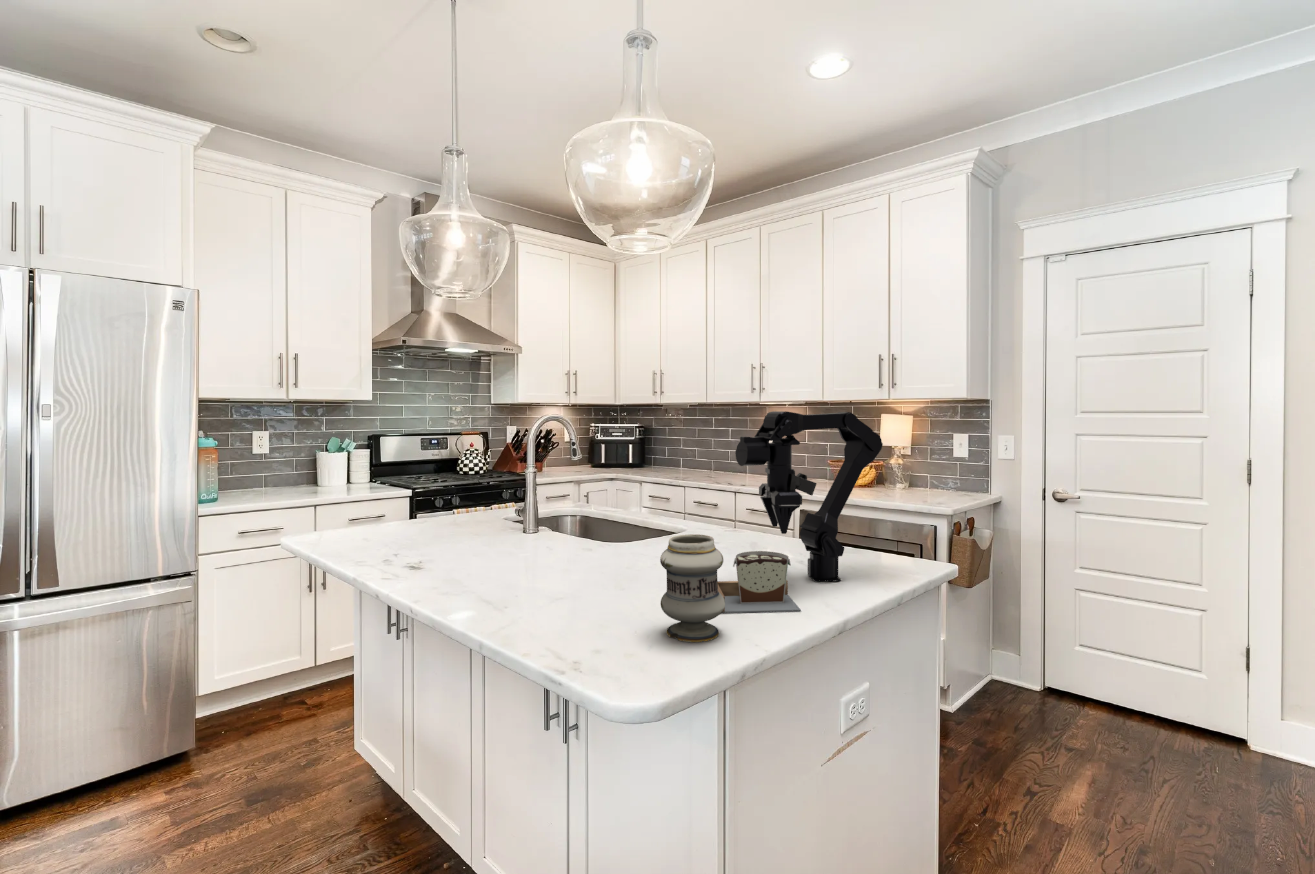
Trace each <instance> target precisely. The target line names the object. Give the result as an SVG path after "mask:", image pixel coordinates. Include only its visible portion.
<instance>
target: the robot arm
mask: <svg viewBox="0 0 1315 874" xmlns="http://www.w3.org/2000/svg"><path fill="white" fill-rule="evenodd" d="M828 429H829V430H830V429H837V430H838V433H839V437H840V438H841V439H842V441H844V443H845V446H844V449H843V453H844V454H843V456H844V460H843V462H842V465H841V466H840V468H839V471H838V473H837V475H836V477H835V479H834V480H833V482H832V484H831V486H830V488H829V490H828V492H827V494H826V496H825V498H824V499H823V501H822V504H821V506H820V507H819V509H818V510H817V511H816V512H815V513H811V512H807V514H806V515H805V516H804V517H805V518H804V520H803V522H802V524H801V525H799V528H801V529H800V532H799V536H800V539H801V542H802V544H803V545H804V548H805V551H807V552H809V558H807V576H808V577H809V578H810V579H811V580H812V581H814V582H815V583H817V582H840V581H842V579H841V578H840V577H839V557H843V555H844V553H845V552H844V551H845V547H844V545H842V543H841V542H840V541H839V540H838V539H837V536H838V532H839V523H838V522H839V518H840V516H841V513H842V511H843V509H845V508H844V507H845V505H846V504H847V502H848V500H849V497H850V495H851V494H852V492H853V490H854V489H855V485H856V484H857V482H858V480H859V479H860V476H861V474H862V472H863V470H864V469H865V468H866V467H867V466H869V465H870V464H871V463H873V462H874V460H875V459H876V458H877V457H878V455H879V454H880V452H882V449H883V445H884V443H883V441H882V437H881V436H880V435H879V433H876V432H875V431H873V429H872V428H871V427H870V426H868V425H867V424H865V423H864V422H863V421H862V420H860V418H858V417H857V416H856V415H855V414H854V413H853V412H850V411H838V412H834V413H833V412H832V413H815V414H813V413H812V414H811V413H810V414H803V413H799V412H792V411H783V410H781V411H776V410H775V411H768V413H766V414H765V416H764V419H763V421H762V424H761V426H760V427H759V429H758V430H757V432H756V433H755V435H754V436H740V438H739V442H738V444H737V445H736V449H735V452H734V453H735V459H736V462H737V464H738V465H739V466H740V467H749V466H750V467H751V466H752V467H753V466H764V465H766V467H765V468H764V473H766V483H761V485H760V486H758V495H759V496H760V500H761V502H762V504H763V506H764V508H765V511H766V513H767V516H768V519H769V521H770V523H771V525H772V527H779V531H780V533H781V534H782V535H783V534H784V535H785V534H787V532H788V529H789V526H790V522H791V521H790V520H791V518H792V515H793V512H795V511H796V510H797V509H799V508H800V507H801V505H803V495H801V494H800V493H799V492H798V491H800V492H802V493H805V494H807V495H809V496H813V494H814V492H815V490H816V487H817V485H818V484H817V482H814V481H812V480H809V479H808V475H806V474H804V473H801V472H798V474H796V471H795V469H793V467H792V465H793V464H792V463H793V462H792V459H793V457H792V455H793V454H792V449H793V447H792V446H799V445H800V444H801V442H800V441H799V440H798V439H797V438H796V437H795V436H794V435H796V434H799V433H801V432H803V431H810V430H811V431H812V430H828ZM796 490H798V491H796Z"/></svg>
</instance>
